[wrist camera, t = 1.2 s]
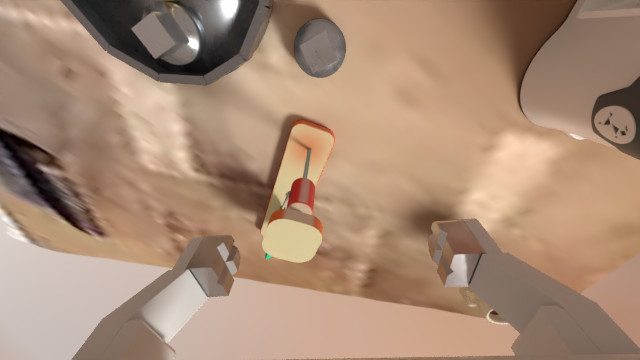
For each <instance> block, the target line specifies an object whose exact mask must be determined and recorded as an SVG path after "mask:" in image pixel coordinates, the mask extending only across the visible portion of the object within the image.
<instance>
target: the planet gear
mask: <svg viewBox="0 0 640 360" xmlns="http://www.w3.org/2000/svg"><path fill="white" fill-rule="evenodd" d="M294 53H295V58H296V60H297V63H298V64H299V66H300V67H301V69H302V70H303V71H304V72H305V73H307V74H308V75H310V76H313V77H317V78H323V77H327V76H330V75H332V74H333V73H335V72H336V71H337V70H338V69H339V68H340V66H341V65H342V63H343V61H344V58H345V53H346V43H345V39H344V36H343V34H342V32H341V30H340V29H339V28H338V26H336V25H335V24H334V23H333V22H331V21H329V20H326V19H314V20H311V21H309V22H307V23H306V24H304V25H303V26H302V27H301V29H300V30H299V32H298V33H297V36H296V39H295V43H294Z"/></svg>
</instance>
